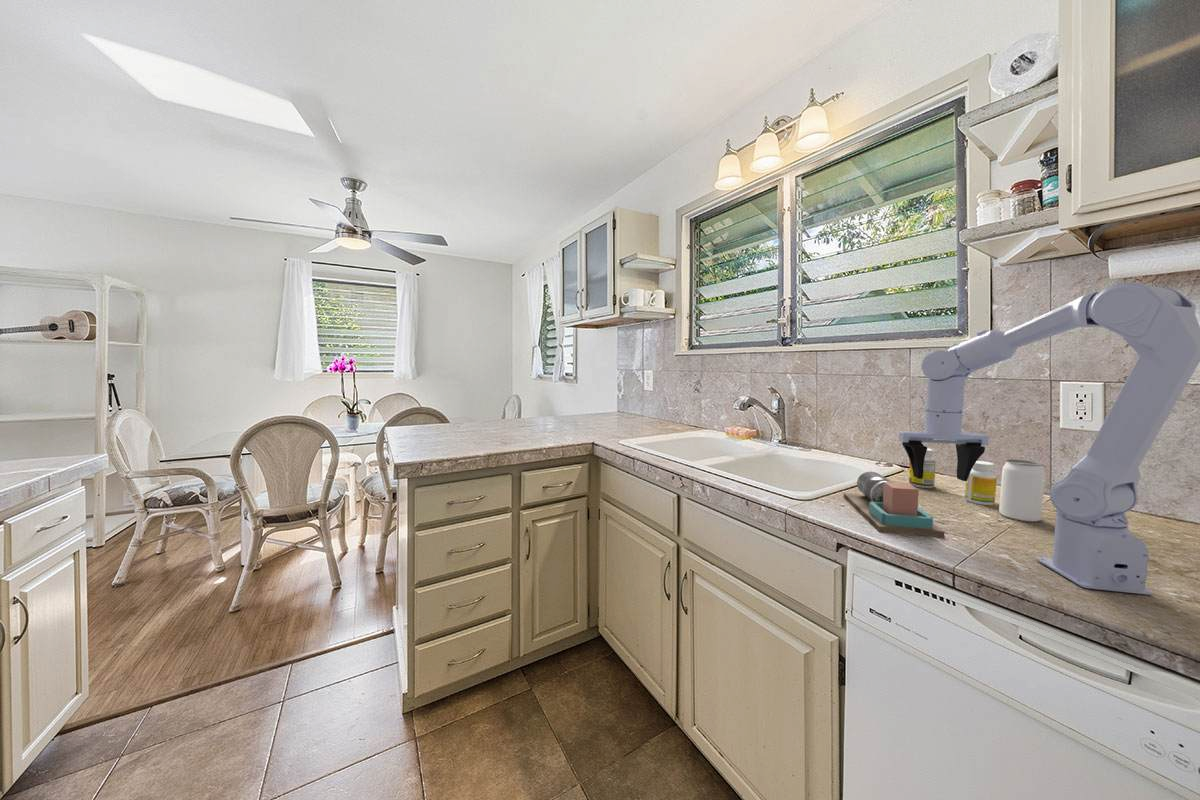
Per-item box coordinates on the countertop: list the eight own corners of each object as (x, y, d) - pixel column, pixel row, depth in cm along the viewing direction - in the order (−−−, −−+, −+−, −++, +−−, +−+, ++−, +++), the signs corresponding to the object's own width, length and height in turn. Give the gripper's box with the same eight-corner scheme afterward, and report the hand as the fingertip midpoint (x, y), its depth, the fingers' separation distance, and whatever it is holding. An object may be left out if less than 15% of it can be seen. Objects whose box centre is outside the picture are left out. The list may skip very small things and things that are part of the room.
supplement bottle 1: (913, 482, 118) (915, 446, 118) (937, 486, 114) (940, 449, 113) (904, 485, 115) (907, 448, 114) (929, 490, 111) (932, 451, 110)
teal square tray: (934, 529, 82) (935, 519, 82) (883, 524, 84) (883, 515, 84) (913, 513, 90) (914, 504, 90) (867, 510, 92) (867, 501, 92)
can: (1049, 523, 87) (1055, 466, 86) (1013, 521, 89) (1017, 465, 88) (1025, 513, 94) (1030, 459, 93) (991, 511, 95) (995, 458, 94)
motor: (906, 514, 90) (908, 484, 90) (873, 511, 92) (874, 482, 92) (884, 497, 102) (886, 471, 101) (855, 495, 103) (856, 469, 103)
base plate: (944, 537, 80) (944, 531, 80) (879, 531, 83) (879, 526, 83) (893, 500, 102) (894, 496, 102) (843, 496, 105) (843, 492, 105)
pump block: (916, 524, 84) (918, 489, 84) (890, 521, 85) (892, 487, 85) (906, 516, 89) (908, 483, 88) (882, 514, 90) (884, 481, 89)
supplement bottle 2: (958, 498, 104) (961, 460, 103) (979, 498, 104) (982, 459, 103) (979, 505, 98) (982, 465, 98) (1001, 505, 99) (1004, 465, 98)
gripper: (974, 410, 86) (969, 475, 87) (893, 408, 89) (890, 471, 91) (997, 414, 79) (992, 485, 80) (909, 412, 83) (905, 480, 84)
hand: (939, 478), depth 85 cm, fingers open, 7 cm apart
